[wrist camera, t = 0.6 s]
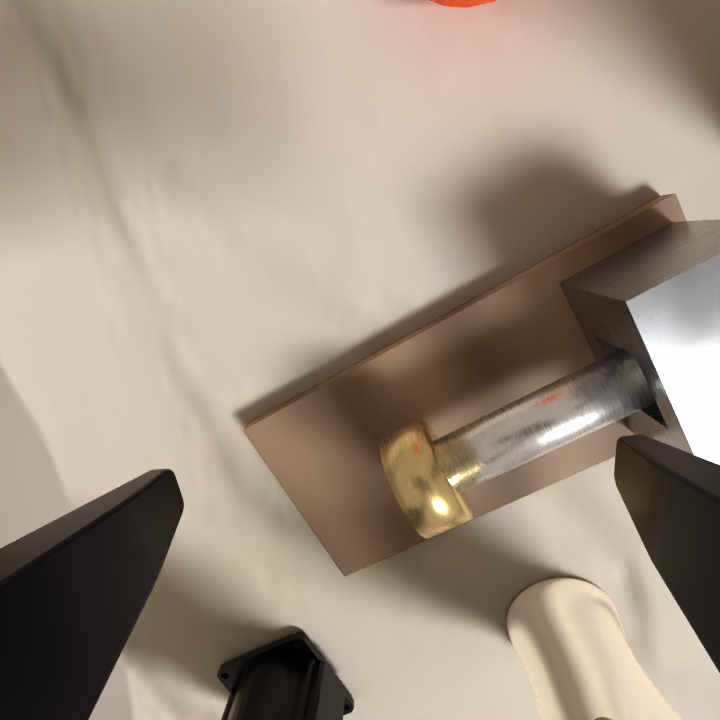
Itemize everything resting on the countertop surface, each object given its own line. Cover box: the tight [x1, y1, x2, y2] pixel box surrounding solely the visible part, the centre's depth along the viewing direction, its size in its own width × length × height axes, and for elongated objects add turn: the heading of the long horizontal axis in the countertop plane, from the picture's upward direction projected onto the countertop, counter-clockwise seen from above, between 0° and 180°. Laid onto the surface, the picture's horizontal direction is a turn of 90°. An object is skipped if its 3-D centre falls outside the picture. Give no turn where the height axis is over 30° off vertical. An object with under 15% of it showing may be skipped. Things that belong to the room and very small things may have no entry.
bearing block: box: [559, 220, 720, 465], centre depth 17 cm, size 5×8×6 cm, turn 31°
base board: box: [243, 194, 686, 577], centre depth 22 cm, size 22×10×1 cm, turn 121°
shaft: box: [379, 349, 656, 539], centre depth 18 cm, size 12×5×5 cm, turn 121°
